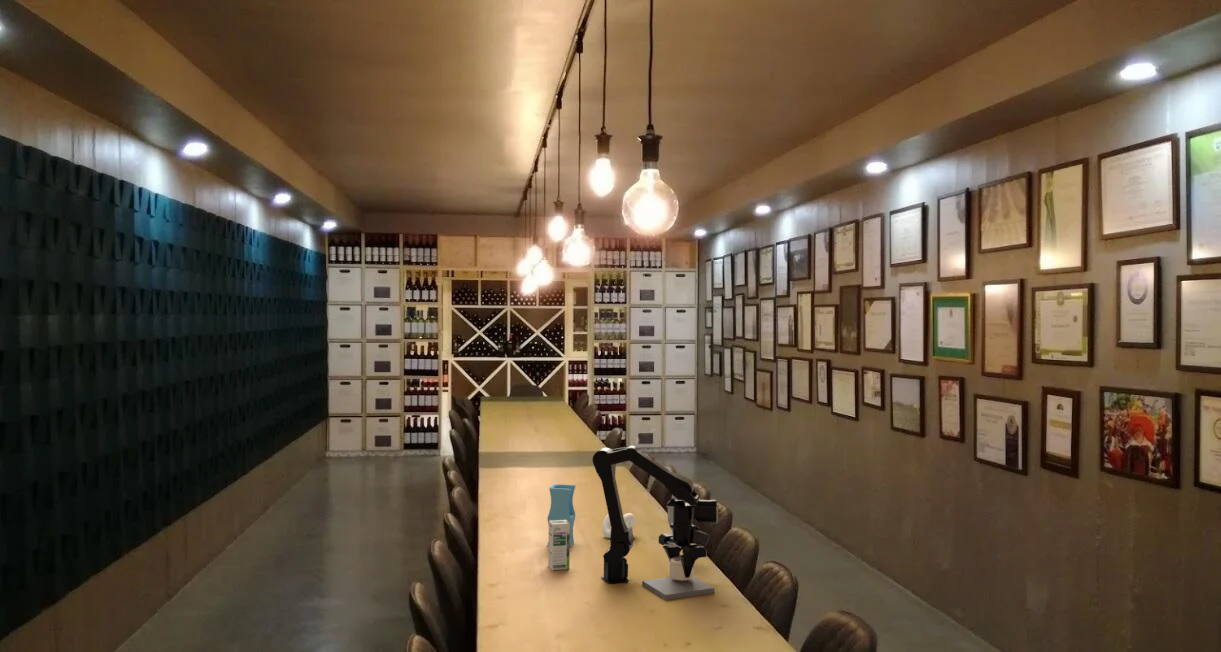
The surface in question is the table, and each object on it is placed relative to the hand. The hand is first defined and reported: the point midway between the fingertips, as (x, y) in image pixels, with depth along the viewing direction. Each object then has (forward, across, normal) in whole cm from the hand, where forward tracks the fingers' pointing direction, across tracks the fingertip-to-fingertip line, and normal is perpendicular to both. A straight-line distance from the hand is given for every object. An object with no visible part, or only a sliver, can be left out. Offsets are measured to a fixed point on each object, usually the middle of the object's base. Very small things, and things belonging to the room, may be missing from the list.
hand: (681, 574), depth 246 cm
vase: (+4, +55, +16) cm, 57 cm away
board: (+3, -3, +3) cm, 5 cm away
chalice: (+3, +22, -11) cm, 25 cm away
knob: (+1, 0, 0) cm, 1 cm away
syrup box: (+4, +30, +27) cm, 40 cm away
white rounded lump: (+4, +56, -6) cm, 56 cm away
